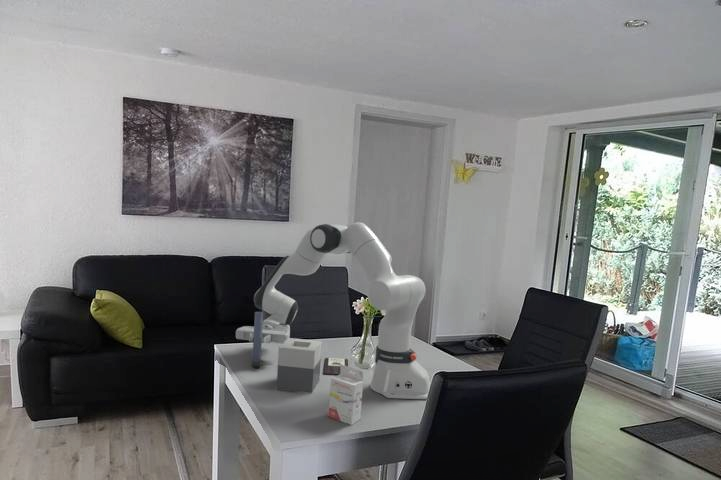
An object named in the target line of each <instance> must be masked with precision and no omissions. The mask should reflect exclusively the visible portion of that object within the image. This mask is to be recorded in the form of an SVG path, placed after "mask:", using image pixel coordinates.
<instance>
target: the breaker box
mask: <svg viewBox="0 0 721 480" xmlns="http://www.w3.org/2000/svg"><path fill="white" fill-rule="evenodd" d="M322 344H323V341H322V340H313V339H304V338H303V339H302V338H293V337H289V338H288V339H287V340H286V341H285V342H284V343H281V344H280V345H279V346H278V355H277V356H278V358H277V370H276V371H277V375H276V389H275V390H280V391H281V390H283V391H291V392H300V393H307V394H308V393H310V394H313V392H314V391H315V389H316V387H317V385H318V384H319V381H320V380H321V379H320V377H321V376H320V375H321V365H322V363H321V362H322V361H321V360H322V359H321V358H322Z"/></svg>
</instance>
